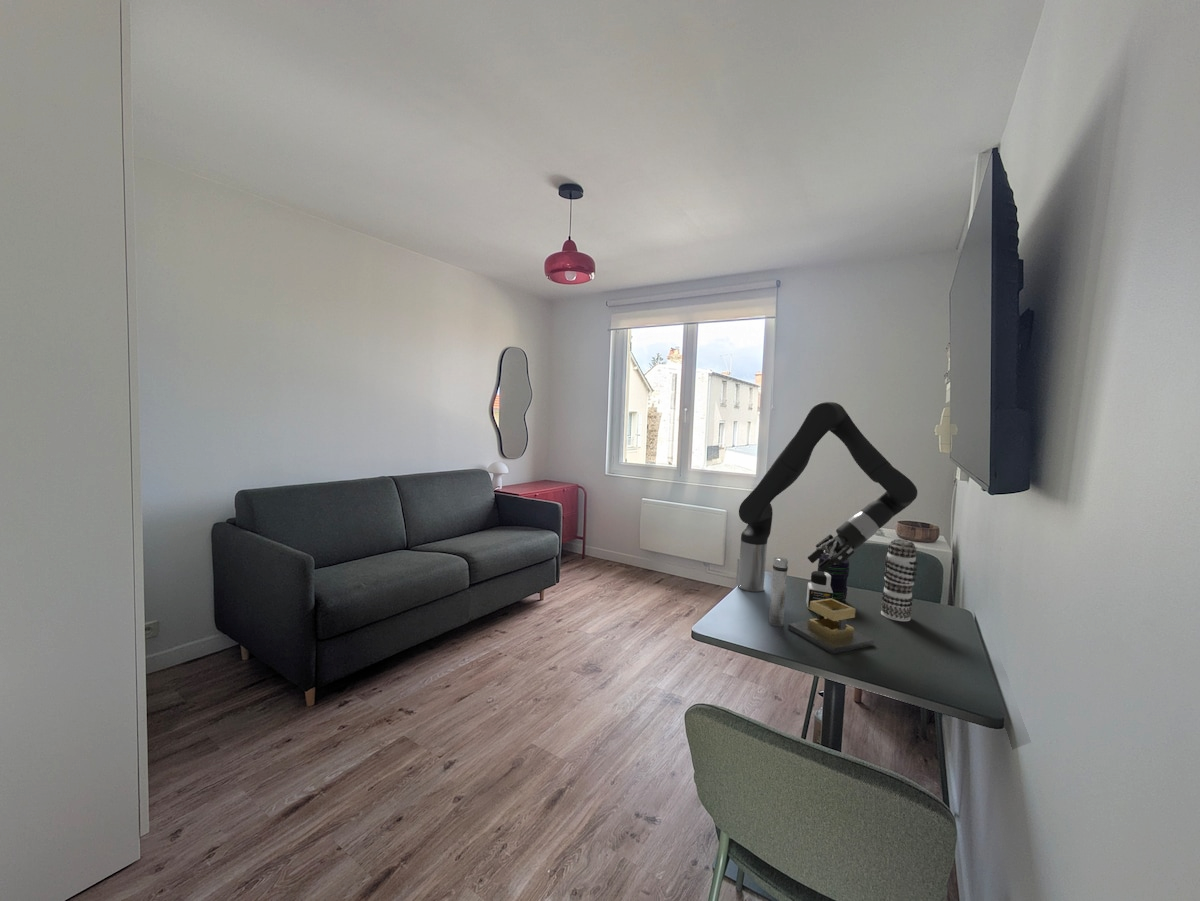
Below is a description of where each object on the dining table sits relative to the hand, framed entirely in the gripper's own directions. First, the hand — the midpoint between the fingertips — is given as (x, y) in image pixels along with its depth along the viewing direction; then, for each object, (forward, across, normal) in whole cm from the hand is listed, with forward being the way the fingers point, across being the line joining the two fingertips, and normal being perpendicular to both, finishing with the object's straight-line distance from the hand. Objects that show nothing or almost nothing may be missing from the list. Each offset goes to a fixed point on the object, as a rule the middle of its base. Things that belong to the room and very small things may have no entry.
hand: (814, 564), depth 148 cm
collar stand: (+11, +7, +16) cm, 20 cm away
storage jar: (+3, -24, +25) cm, 35 cm away
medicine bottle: (+8, -16, +20) cm, 27 cm away
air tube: (+21, 0, +6) cm, 22 cm away
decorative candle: (-9, -14, +36) cm, 40 cm away
